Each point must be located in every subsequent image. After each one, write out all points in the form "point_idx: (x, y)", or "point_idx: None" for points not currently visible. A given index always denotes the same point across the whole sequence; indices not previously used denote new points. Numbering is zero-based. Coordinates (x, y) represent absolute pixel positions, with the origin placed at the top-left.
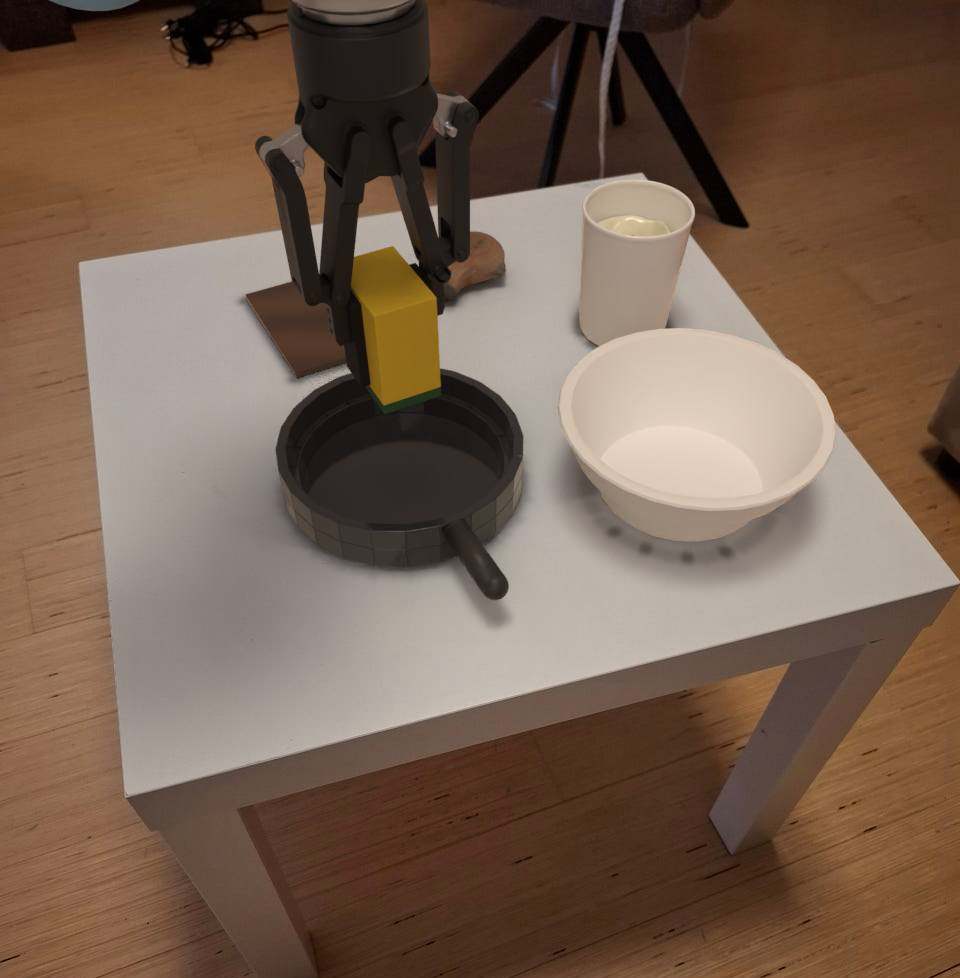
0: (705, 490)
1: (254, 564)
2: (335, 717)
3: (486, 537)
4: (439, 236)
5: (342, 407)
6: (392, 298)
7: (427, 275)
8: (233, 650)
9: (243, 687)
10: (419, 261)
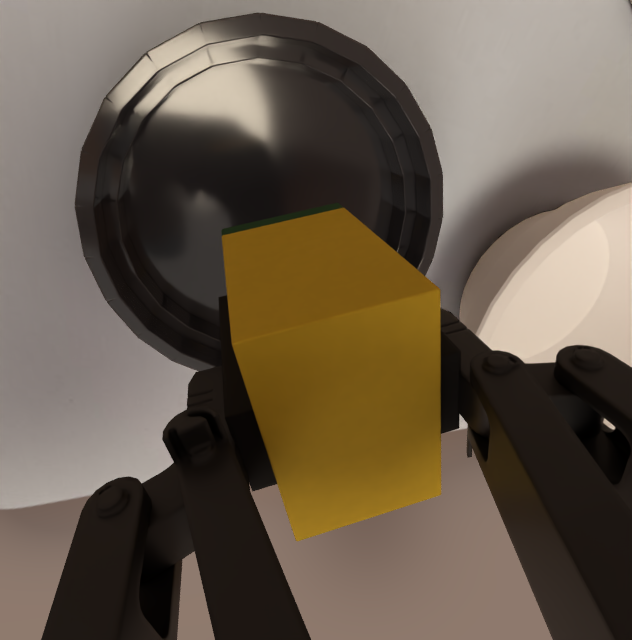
0: (546, 306)
1: (62, 309)
2: (156, 470)
3: None
4: (571, 382)
5: (199, 68)
6: (353, 494)
7: (461, 415)
8: (51, 409)
9: (67, 444)
10: (470, 387)
